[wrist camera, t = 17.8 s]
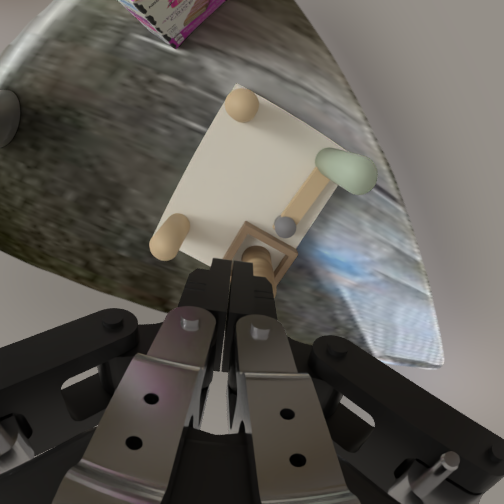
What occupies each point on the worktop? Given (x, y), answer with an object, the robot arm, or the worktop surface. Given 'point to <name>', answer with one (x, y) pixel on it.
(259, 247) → the loose leg
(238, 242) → the stool seat
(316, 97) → the worktop surface
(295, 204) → the hinged leg
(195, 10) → the candy bar box
